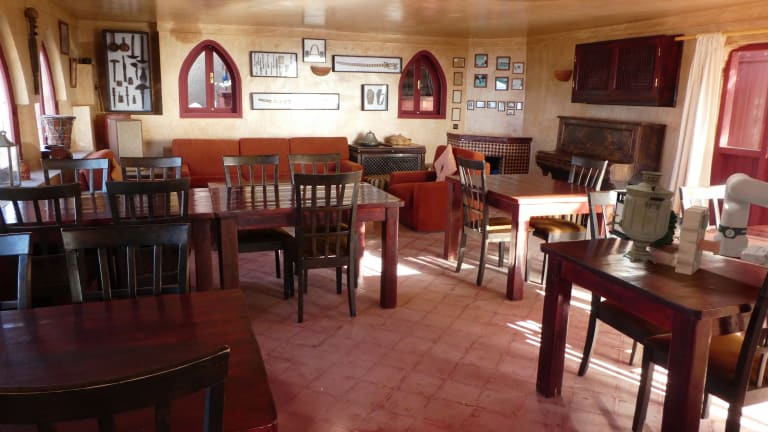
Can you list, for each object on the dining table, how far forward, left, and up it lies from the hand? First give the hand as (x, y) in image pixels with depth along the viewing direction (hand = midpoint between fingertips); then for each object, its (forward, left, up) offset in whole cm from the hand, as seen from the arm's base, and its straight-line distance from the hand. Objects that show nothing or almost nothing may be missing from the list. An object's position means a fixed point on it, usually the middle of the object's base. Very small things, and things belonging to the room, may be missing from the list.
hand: (732, 249), depth 232 cm
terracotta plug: (0, -10, -3) cm, 10 cm away
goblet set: (-68, -43, -12) cm, 81 cm away
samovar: (0, -38, -12) cm, 40 cm away
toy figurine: (-39, -36, -12) cm, 54 cm away
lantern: (-48, -54, -12) cm, 73 cm away
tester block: (0, -15, -12) cm, 19 cm away
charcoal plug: (0, -15, +7) cm, 17 cm away
